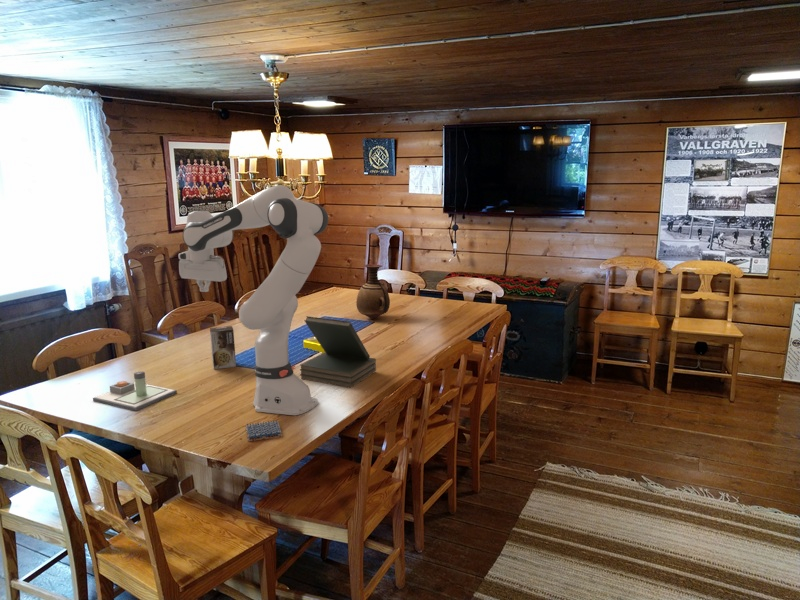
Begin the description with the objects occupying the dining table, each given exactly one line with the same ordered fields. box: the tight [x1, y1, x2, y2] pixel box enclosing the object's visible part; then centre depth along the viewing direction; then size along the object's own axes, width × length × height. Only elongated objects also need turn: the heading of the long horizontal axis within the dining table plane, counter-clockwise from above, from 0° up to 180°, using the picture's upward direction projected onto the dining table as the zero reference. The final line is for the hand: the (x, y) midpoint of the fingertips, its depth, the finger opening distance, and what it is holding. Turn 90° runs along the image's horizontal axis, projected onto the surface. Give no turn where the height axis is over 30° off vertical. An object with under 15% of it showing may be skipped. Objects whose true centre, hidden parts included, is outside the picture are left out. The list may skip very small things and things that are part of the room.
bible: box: [299, 316, 377, 389], centre depth 224 cm, size 23×20×25 cm
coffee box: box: [209, 325, 237, 370], centre depth 237 cm, size 9×6×16 cm
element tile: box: [302, 335, 325, 354], centre depth 264 cm, size 15×15×5 cm
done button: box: [116, 380, 128, 387], centre depth 207 cm, size 3×3×2 cm
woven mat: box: [245, 420, 283, 442], centre depth 177 cm, size 10×11×2 cm
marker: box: [133, 371, 147, 396], centre depth 203 cm, size 4×4×8 cm
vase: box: [356, 263, 391, 319], centre depth 313 cm, size 21×18×30 cm
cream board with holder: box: [92, 381, 178, 412], centre depth 205 cm, size 21×18×4 cm
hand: (204, 291), depth 215 cm, fingers closed
